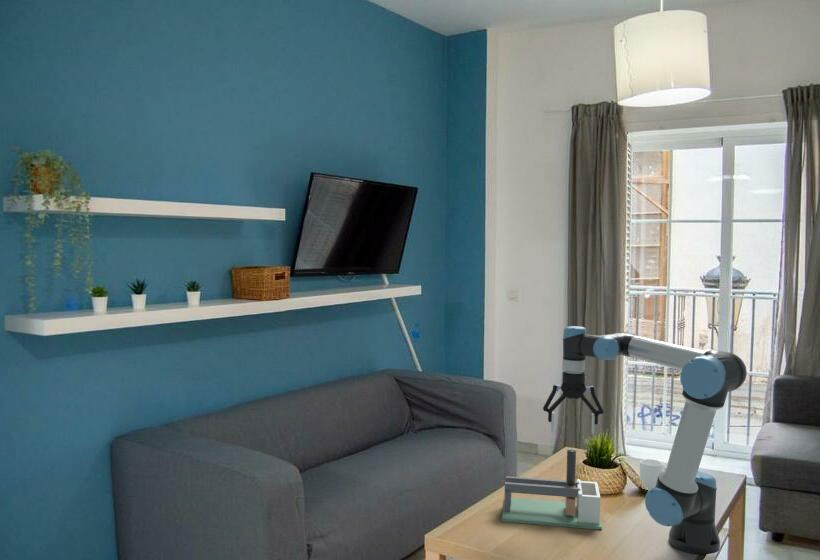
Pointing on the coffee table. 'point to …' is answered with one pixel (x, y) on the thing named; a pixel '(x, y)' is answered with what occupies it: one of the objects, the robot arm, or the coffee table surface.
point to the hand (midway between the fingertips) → (572, 432)
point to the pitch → (552, 503)
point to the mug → (650, 472)
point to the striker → (570, 481)
